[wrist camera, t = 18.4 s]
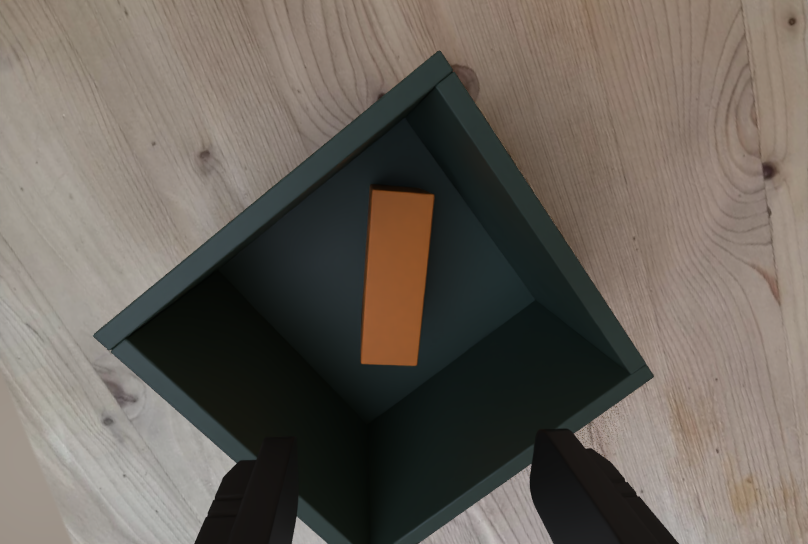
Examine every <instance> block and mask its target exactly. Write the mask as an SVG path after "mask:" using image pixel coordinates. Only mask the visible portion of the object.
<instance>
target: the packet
mask: <svg viewBox="0 0 808 544" xmlns="http://www.w3.org/2000/svg"><path fill="white" fill-rule="evenodd" d="M434 199H435V195H434V194H432V193H430V192H427V191H425V190H423V189H420V188H413V187H401V186H389V185H377V184H370V191H369V207H368V222H367V238H366V254H365V269H364V285H363V300H362V316H361V364H374V365H405V366H417V364H418V354H419V344H420V335H421V325H422V315H423V305H424V296H425V286H426V276H427V267H428V257H429V247H430V237H431V228H432V218H433V208H434Z"/></svg>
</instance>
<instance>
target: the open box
mask: <svg viewBox="0 0 808 544" xmlns="http://www.w3.org/2000/svg"><path fill="white" fill-rule="evenodd" d="M452 71H453V69H452V67H451V66H450V64H449V63H448V61H447V60H446V58H445V57H444V55H443V54H442V52H441V51H437V52H436V53H435V54H434V55H432V56H431V57H430V58H429V59H428V60H426V61H425V62H424V63H423V64H421V65H420V66H419V67H418V68H417V69H415V70H414V71H413V72H412V73H411V74H409V75H408V76H407V77H406V78H404V79H403V80H402V81H401V82H400V83H398V84H397V85H396V86H395V87H394V88H392V89H391V90H390V91H389V92H387V93H386V94H385V95H384V96H383V97H381V98H380V99H379V100H378V101H377V102H375V103H374V104H373V105H372V106H370V107H369V108H368V109H367V110H366V111H364V112H363V113H362V114H361V115H359V116H358V117H357V118H356V119H355V120H353V121H352V122H351V123H350V124H349V125H347V126H346V127H345V128H344V129H342V130H341V131H340V132H339V133H338V134H336V135H335V136H334V137H333V138H332V139H330V140H329V141H328V142H327V143H325V144H324V145H323V146H322V147H321V148H319V149H318V150H317V151H316V152H315V153H313V154H312V155H311V156H310V157H308V158H307V159H306V160H305V161H304V162H302V163H301V164H300V165H299V166H298V167H296V168H295V169H294V170H293V171H291V172H290V173H289V174H288V175H287V176H285V177H284V178H283V179H282V180H280V181H279V182H278V183H277V184H276V185H274V186H273V187H272V188H271V189H270V190H268V191H267V192H266V193H265V194H263V195H262V196H261V197H260V198H259V199H257V200H256V201H255V202H254V203H253V204H251V205H250V206H249V207H248V208H246V209H245V210H244V211H243V212H242V213H240V214H239V215H238V216H237V217H236V218H234V219H233V220H232V221H231V222H229V223H228V224H227V225H226V226H225V227H223V228H222V229H221V230H220V231H218V232H217V233H216V234H215V235H214V236H212V237H211V238H210V239H209V240H208V241H206V242H205V243H204V244H203V245H201V246H200V247H199V248H198V249H197V250H195V251H194V252H193V253H192V254H191V255H189V256H188V257H187V258H186V259H184V260H183V261H182V262H181V263H180V264H178V265H177V266H176V267H175V268H174V269H172V270H171V271H170V272H169V273H167V274H166V275H165V276H164V277H163V278H161V279H160V280H159V281H158V282H156V283H155V284H154V285H153V286H152V287H150V288H149V289H148V290H147V291H146V292H144V293H143V294H142V295H141V296H139V297H138V298H137V299H136V300H135V301H133V302H132V303H131V304H130V305H129V306H127V307H126V308H125V309H124V310H122V311H121V312H120V313H119V314H118V315H116V316H115V317H114V318H113V319H112V320H110V321H109V322H108V323H107V324H105V325H104V326H103V327H102V328H101V329H99V330H98V331H97V332H96V333H95V334H94V335H93V337H94V338H95V339H97V340H98V341H99V342H100V343H101V344H102V345H103V346H104V347H106V348H107V349H108V350H111V353H112V354H114V355H115V356H116V357H117V358H118V359H119V360H120V361H121V362H123V363H124V364H125V365H126V366H127V367H128V368H129V369H131V370H132V371H133V372H134V373H135V374H136V375H137V376H138V377H140V378H141V379H142V380H143V381H144V382H145V383H146V384H148V385H149V386H150V387H151V388H152V389H153V390H154V391H155V392H157V393H158V394H159V395H160V396H161V397H162V398H163V399H165V400H166V401H167V402H168V403H169V404H170V405H171V406H172V407H174V408H175V409H176V410H177V411H178V412H179V413H180V414H182V415H183V416H184V417H185V418H186V419H187V420H188V421H189V422H191V423H192V424H193V425H194V426H195V427H196V428H197V429H199V430H200V431H201V432H202V433H203V434H204V435H205V436H206V437H208V438H209V439H210V440H211V441H212V442H213V443H214V444H216V445H217V446H218V447H219V448H220V449H221V450H222V451H223V452H225V453H226V454H227V455H228V456H229V457H230V458H231V459H233V460H234V461H235V462H236V463H238V462H239V461H240V460H256V459H257V456H258V454H259V451H260V448H261V445H262V442H263V440H264V438H265V437H280V436H296V438H297V453H298V484H299V495H298V509H297V517H298V518H299V519H301V520H302V521H303V522H304V523H305V524H306V525H307V526H309V527H310V528H311V529H312V530H313V531H314V532H315V533H316V534H318V535H319V536H320V537H321V538H322V539H323V540H324V541H326V542H327V543H328V544H418V543H420V542H421V541H422V540H424V539H425V538H427V537H428V536H429V535H431V534H432V533H434V532H435V531H437V530H438V529H439V528H441V527H442V526H444V525H445V524H446V523H448V522H449V521H451V520H452V519H454V518H455V517H456V516H458V515H459V514H461V513H462V512H463V511H465V510H466V509H468V508H469V507H471V506H472V505H473V504H475V503H476V502H478V501H479V500H480V499H482V498H483V497H485V496H486V495H488V494H489V493H490V492H492V491H493V490H495V489H496V488H497V487H499V486H500V485H502V484H503V483H505V482H506V481H507V480H509V479H510V478H512V477H513V476H514V475H516V474H517V473H519V472H520V471H522V470H523V469H524V468H526V467H527V466H529V465H530V464H531V463H532V458H533V451H534V444H535V437H536V433H537V431H538V430H539V429H565V428H567V429H569V430H571V431H572V432H573V434H574V433H575V432H577V431H578V430H580V429H581V428H582V427H584V426H585V425H587V424H588V423H590V422H591V421H592V420H594V419H595V418H597V417H598V416H600V415H601V414H602V413H604V412H605V411H607V410H608V409H609V408H611V407H612V406H614V405H615V404H617V403H618V402H619V401H621V400H622V399H624V398H625V397H626V396H628V395H629V394H631V393H632V392H634V391H635V390H636V389H638V388H639V387H641V386H642V385H643V384H645V383H646V382H648V381H649V380H651V379H652V378H653V377H654V375H653V373H652V372H651V370H650V369H649V367H648V366H647V364H646V363H645V361H644V359H643V358H642V356H641V355H640V353H639V352H638V350H637V349H636V347H635V346H634V344H633V343H632V341H631V340H630V338H629V337H628V335H627V334H626V332H625V331H624V329H623V327H622V326H621V324H620V323H619V321H618V320H617V318H616V317H615V315H614V314H613V312H612V311H611V309H610V308H609V306H608V305H607V303H606V302H605V300H604V299H603V297H602V296H601V294H600V292H599V291H598V289H597V288H596V286H595V285H594V283H593V282H592V280H591V279H590V277H589V276H588V274H587V273H586V271H585V270H584V268H583V267H582V265H581V264H580V262H579V261H578V259H577V257H576V256H575V254H574V253H573V251H572V250H571V248H570V247H569V245H568V244H567V242H566V241H565V239H564V238H563V236H562V235H561V233H560V232H559V230H558V229H557V227H556V226H555V224H554V222H553V221H552V219H551V218H550V216H549V215H548V213H547V212H546V210H545V209H544V207H543V206H542V204H541V203H540V201H539V200H538V198H537V197H536V195H535V194H534V192H533V191H532V189H531V187H530V186H529V184H528V183H527V181H526V180H525V178H524V177H523V175H522V174H521V172H520V171H519V169H518V168H517V166H516V165H515V163H514V162H513V160H512V159H511V157H510V156H509V154H508V152H507V151H506V149H505V148H504V146H503V145H502V143H501V142H500V140H499V139H498V137H497V136H496V134H495V133H494V131H493V130H492V128H491V127H490V125H489V124H488V122H487V121H486V119H485V117H484V116H483V114H482V113H481V111H480V110H479V108H478V107H477V105H476V104H475V102H474V101H473V99H472V98H471V96H470V95H469V93H468V92H467V90H466V89H465V87H464V86H463V84H462V82H461V81H460V79H459V78H458V76H457V75H456V73H455V72H452ZM370 184H377V185H389V186H401V187H413V188H420V189H423V190H425V191H427V192H430V193H432V194H434V195H435V199H434V208H433V218H432V228H431V237H430V247H429V257H428V267H427V276H426V286H425V296H424V305H423V315H422V325H421V335H420V344H419V354H418V364H417V366H405V365H374V364H361V316H362V300H363V285H364V269H365V254H366V238H367V222H368V207H369V191H370Z"/></svg>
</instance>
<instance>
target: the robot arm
mask: <svg viewBox="0 0 808 544" xmlns="http://www.w3.org/2000/svg"><path fill="white" fill-rule="evenodd" d="M530 491H531V496H532V500H533V503H534V505H535V508H536V510H537V512H538V514H539V516H540V518H541V520H542V522H543V524H544V525H545V527H546V529H547V531H548V533H549V535H550V537H551V539H552V541H553V543H554V544H679V543H678V542H677V541H676V540H675V539H674V537H673V536H672V535H671V534H670V533H669V531H668V530H667V529H666V528H665V527H664V525H663V524H662V523H661V522H660V521H659V519H658V518H657V517H656V516H655V515H654V513H653V512H652V511H651V510H650V509H649V507H648V506H647V505H646V504H645V503H644V501H643V500H642V499H641V498H640V497H639V496H638V497H637V495H636V492H635V491H634V489H633V488H632V487H631V486H630V485H629V483H628V482H625V479H624V477H623V476H622V475H621V474H620V473H619V471H618V470H617V469H616V468H615V467H614V465H613V464H612V463H611V462H610V461H608V460H607V459H606V458H604V457H603V456H601V455H600V454H599V453H597V452H596V451H594V450H593V449H592V448H589V449H585V448H584V446H583V445H582V444H581V443H580V441H579V440H578V439H577V437H576V436H575V435H574V434H573V432H572V431H571V430H569V429H567V428H565V429H539V430H538V431H537V433H536V437H535V444H534V451H533V458H532V466H531V473H530ZM298 495H299V484H298V453H297V438H296V436H280V437H265V438H264V440H263V442H262V445H261V448H260V451H259V454H258V456H257V459H256V460H240V461H239V462H238V463H237V464H236V465H235V466H234V467H233V468H232V469H231V470H230V471H229V472H228V473H227V474H226V475H225V476H224V477H223V479H222V482H221V484H220V486H219V488H218V491H217V493H216V495H215V500H213V502H212V504H211V507H210V509H209V511H208V516H207V517H206V518H205V520H204V523H203V525H202V527H201V530H200V532H199V534H198V536H197V539H196V541H195V543H194V544H292V539H293V533H294V528H295V522H296V517H297V509H298Z"/></svg>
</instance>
